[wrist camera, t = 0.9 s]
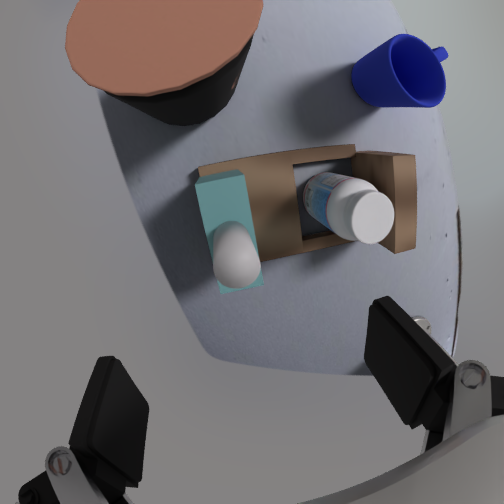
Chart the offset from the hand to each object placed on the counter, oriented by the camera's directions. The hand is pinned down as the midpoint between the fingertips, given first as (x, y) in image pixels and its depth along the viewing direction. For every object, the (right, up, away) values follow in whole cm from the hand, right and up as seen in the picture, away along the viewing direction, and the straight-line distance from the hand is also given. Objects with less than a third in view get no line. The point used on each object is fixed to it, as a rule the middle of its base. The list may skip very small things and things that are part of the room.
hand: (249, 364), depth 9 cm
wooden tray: (+6, +10, +22) cm, 25 cm away
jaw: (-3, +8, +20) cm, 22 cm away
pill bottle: (+9, +11, +23) cm, 27 cm away
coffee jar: (-7, +23, +16) cm, 29 cm away
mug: (+17, +27, +18) cm, 36 cm away
